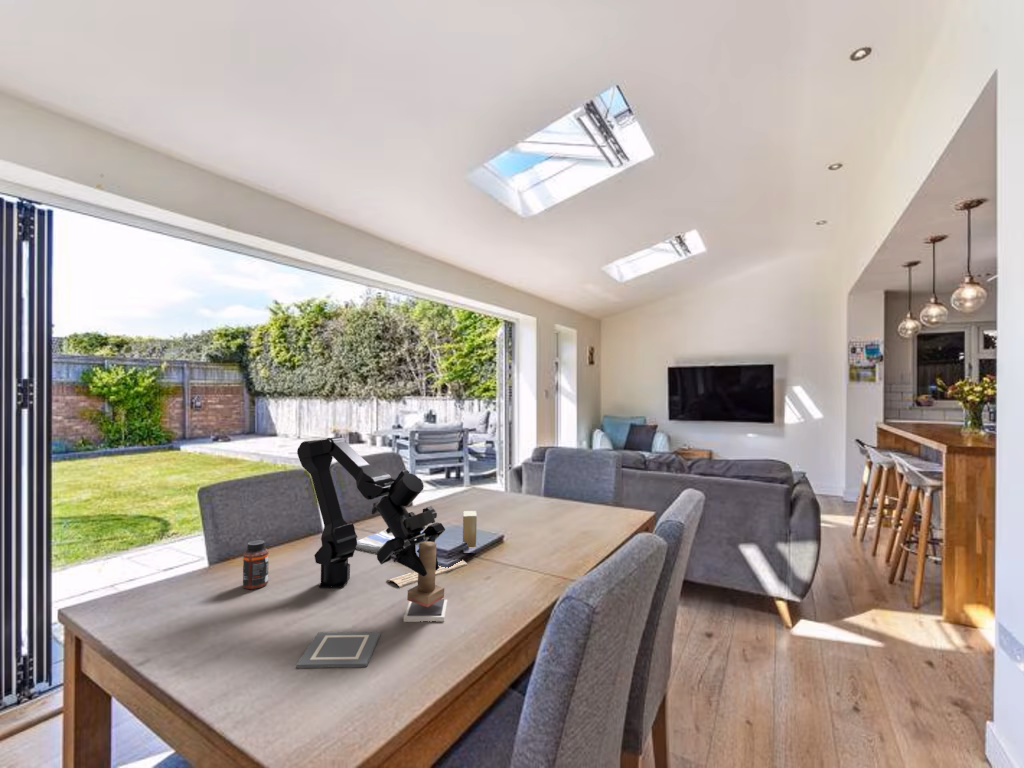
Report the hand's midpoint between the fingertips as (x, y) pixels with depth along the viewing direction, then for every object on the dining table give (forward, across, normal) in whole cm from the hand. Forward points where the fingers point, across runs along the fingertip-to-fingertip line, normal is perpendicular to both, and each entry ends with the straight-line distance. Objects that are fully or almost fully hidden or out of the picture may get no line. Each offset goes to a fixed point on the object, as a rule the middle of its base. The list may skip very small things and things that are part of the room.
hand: (431, 572), depth 114 cm
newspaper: (-4, +19, +20) cm, 28 cm away
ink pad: (+6, 0, +8) cm, 10 cm away
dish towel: (-24, +34, +39) cm, 57 cm away
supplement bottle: (-28, -12, +42) cm, 52 cm away
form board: (+3, -22, +10) cm, 24 cm away
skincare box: (-5, +40, +19) cm, 45 cm away
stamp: (+4, 0, +6) cm, 7 cm away
